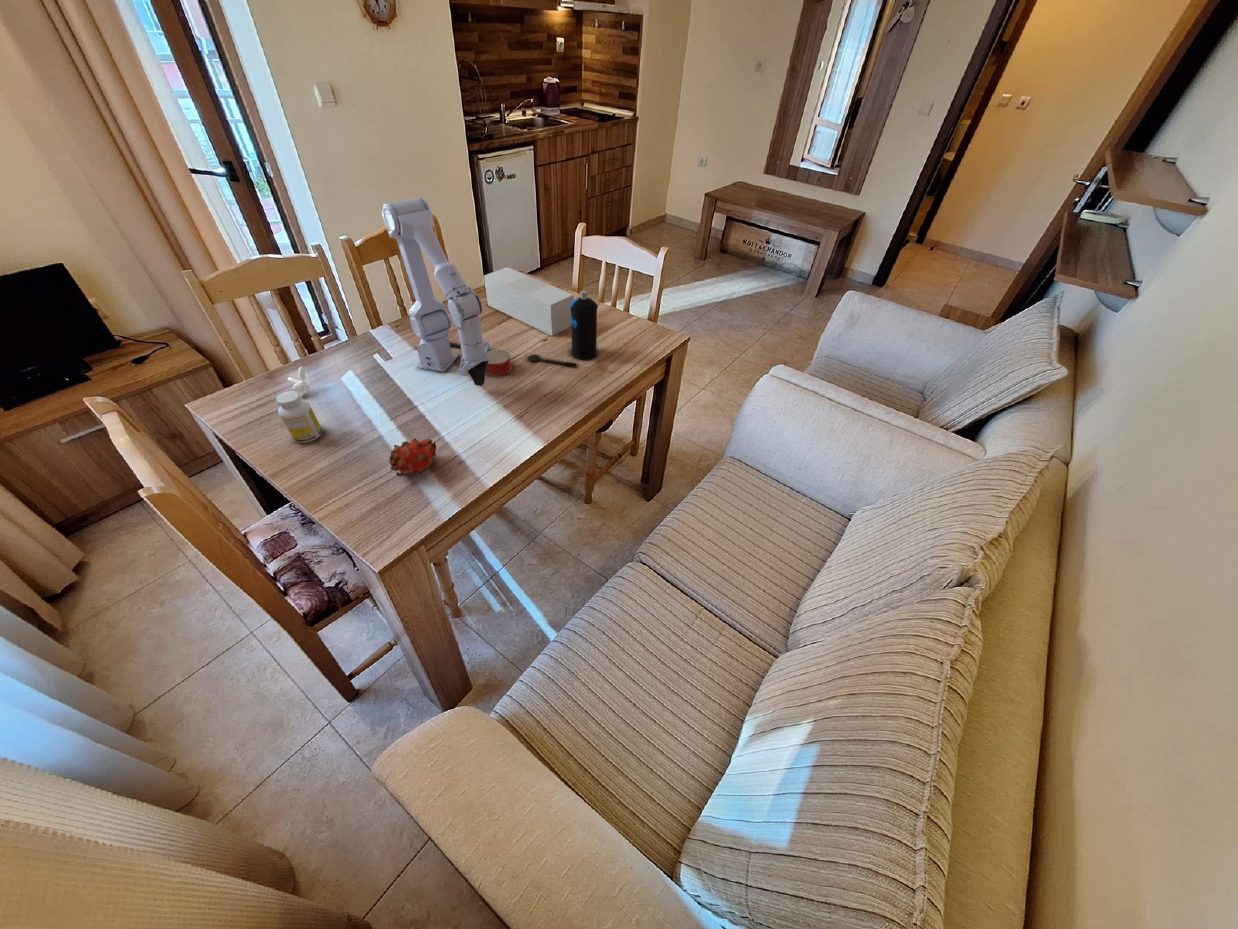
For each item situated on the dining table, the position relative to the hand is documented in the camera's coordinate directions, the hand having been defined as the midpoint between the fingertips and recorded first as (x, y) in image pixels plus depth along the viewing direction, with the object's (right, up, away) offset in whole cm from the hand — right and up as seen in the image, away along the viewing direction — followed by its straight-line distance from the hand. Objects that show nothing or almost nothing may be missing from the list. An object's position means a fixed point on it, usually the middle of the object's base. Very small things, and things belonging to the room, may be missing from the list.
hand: (479, 384), depth 131 cm
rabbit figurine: (-48, -2, -2) cm, 48 cm away
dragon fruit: (-8, -23, -21) cm, 32 cm away
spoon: (+18, +9, +14) cm, 25 cm away
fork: (-9, +14, +18) cm, 25 cm away
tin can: (+3, +6, +10) cm, 12 cm away
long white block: (+7, +30, +35) cm, 47 cm away
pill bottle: (-38, -15, -15) cm, 43 cm away
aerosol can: (+28, +13, +19) cm, 36 cm away
